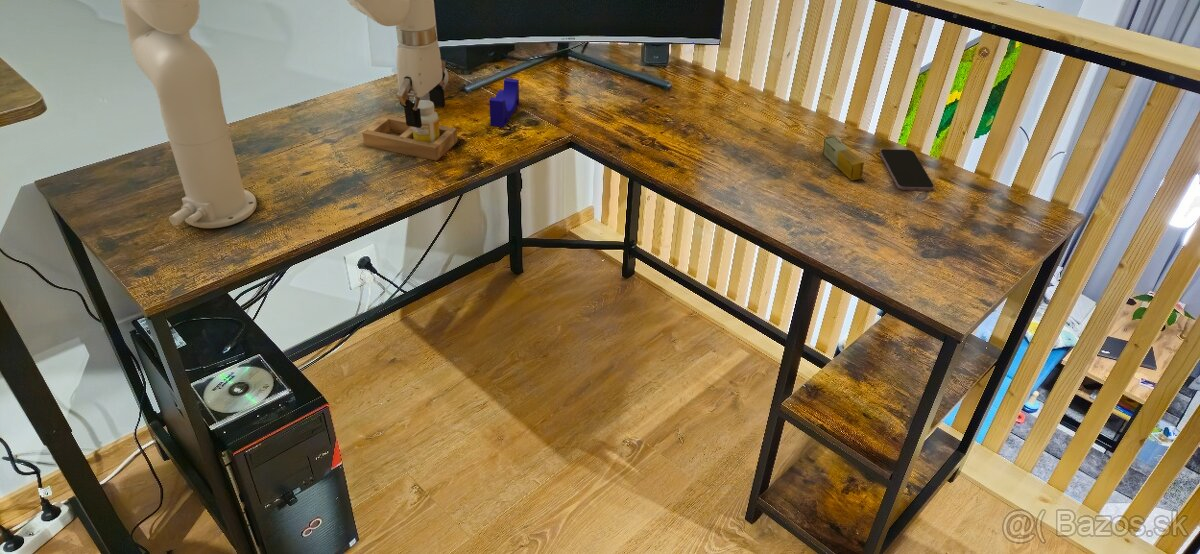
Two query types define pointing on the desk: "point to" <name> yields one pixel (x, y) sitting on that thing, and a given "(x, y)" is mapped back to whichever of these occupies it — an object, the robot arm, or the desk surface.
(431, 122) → the supplement bottle
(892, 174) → the smartphone
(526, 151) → the desk surface
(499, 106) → the cable clip
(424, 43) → the robot arm
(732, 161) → the desk surface
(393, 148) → the caddy
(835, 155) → the medication box
